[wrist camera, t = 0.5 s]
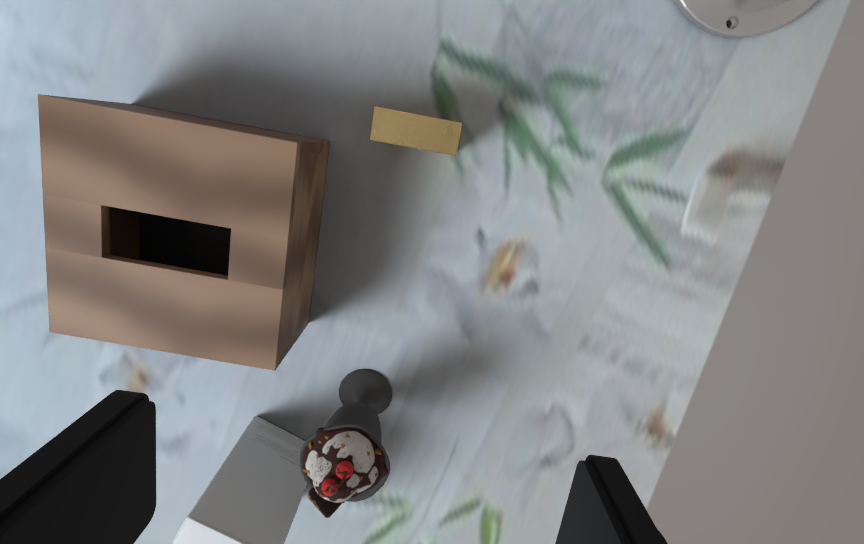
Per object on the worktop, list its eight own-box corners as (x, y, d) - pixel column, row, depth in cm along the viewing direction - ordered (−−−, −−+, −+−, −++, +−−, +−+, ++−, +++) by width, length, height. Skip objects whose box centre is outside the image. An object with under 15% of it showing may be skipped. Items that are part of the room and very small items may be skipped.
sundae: (380, 349, 43) (350, 456, 29) (412, 408, 45) (398, 537, 30) (317, 375, 44) (257, 492, 30) (350, 433, 46) (308, 570, 31)
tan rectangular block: (384, 110, 37) (374, 106, 32) (459, 124, 38) (462, 122, 32) (380, 139, 38) (369, 139, 32) (453, 152, 38) (456, 155, 32)
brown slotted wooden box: (130, 104, 38) (38, 94, 29) (329, 141, 38) (297, 142, 29) (130, 291, 42) (49, 331, 33) (308, 322, 42) (274, 370, 34)
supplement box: (255, 412, 45) (187, 514, 33) (323, 448, 46) (281, 560, 34) (222, 467, 47) (146, 582, 35) (288, 501, 48) (237, 624, 36)
